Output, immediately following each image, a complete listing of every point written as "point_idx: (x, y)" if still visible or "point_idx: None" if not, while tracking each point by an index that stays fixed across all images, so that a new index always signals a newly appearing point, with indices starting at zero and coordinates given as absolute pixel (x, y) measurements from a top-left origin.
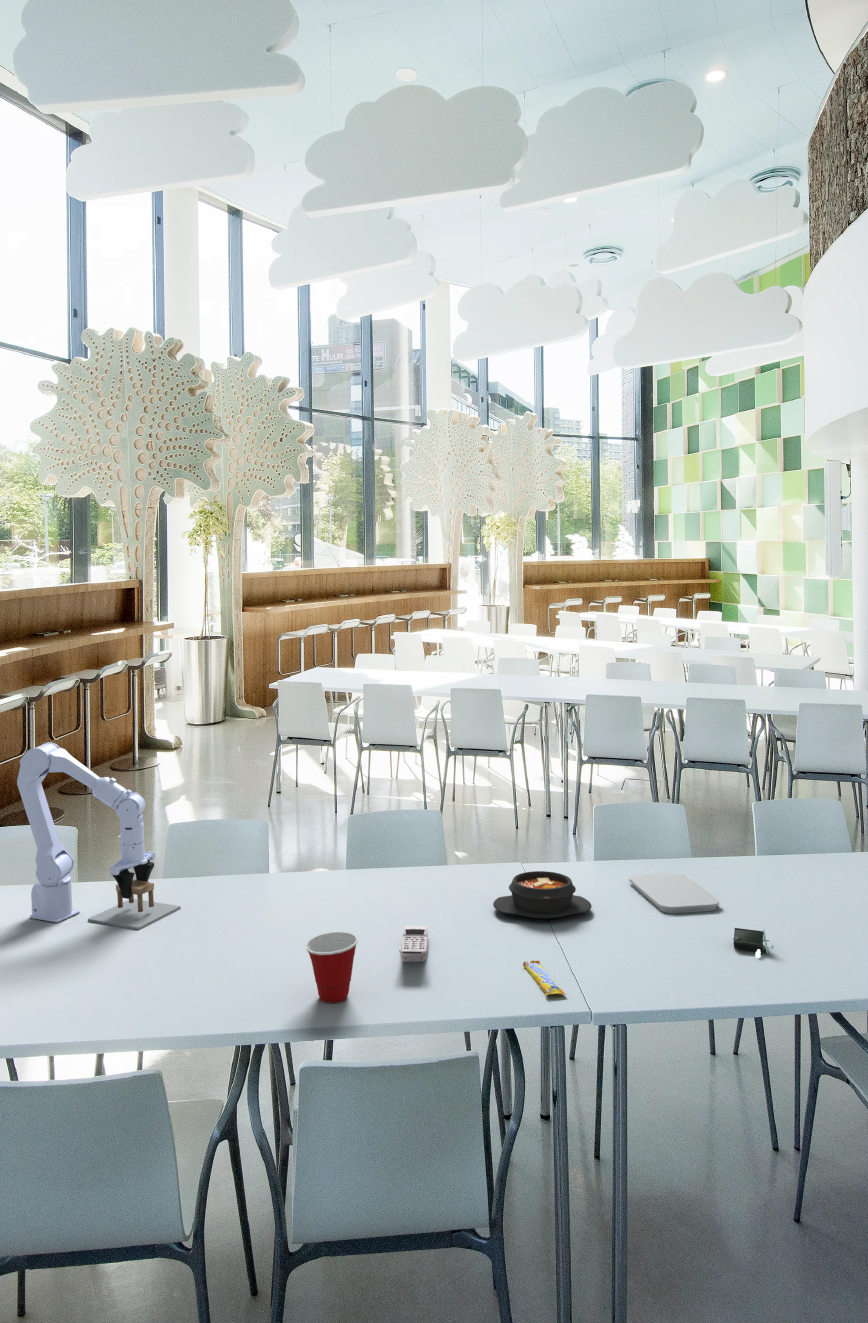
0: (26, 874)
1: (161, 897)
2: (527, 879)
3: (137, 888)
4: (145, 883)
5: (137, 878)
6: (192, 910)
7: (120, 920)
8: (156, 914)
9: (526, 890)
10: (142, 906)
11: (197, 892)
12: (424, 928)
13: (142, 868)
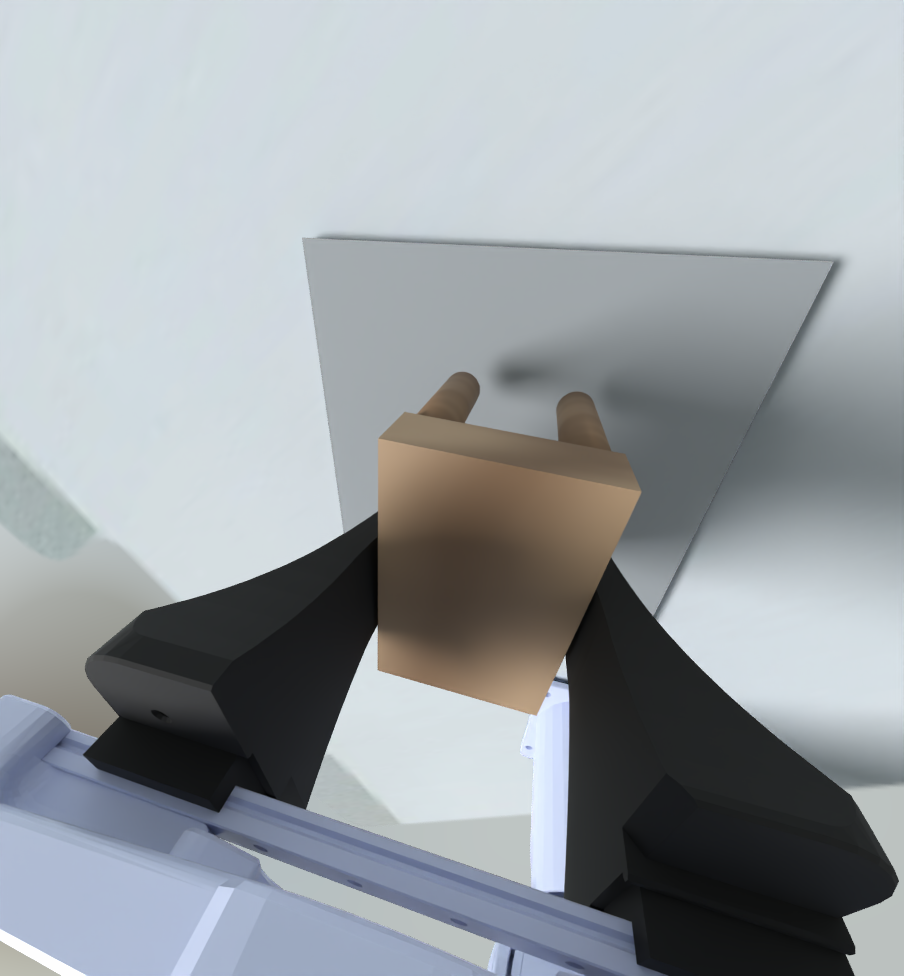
0: (337, 812)
1: (254, 469)
2: None
3: (616, 527)
4: (426, 521)
5: (366, 633)
6: (291, 93)
7: (655, 486)
8: (503, 312)
9: None
10: (579, 403)
11: (93, 325)
12: None
13: (292, 702)
